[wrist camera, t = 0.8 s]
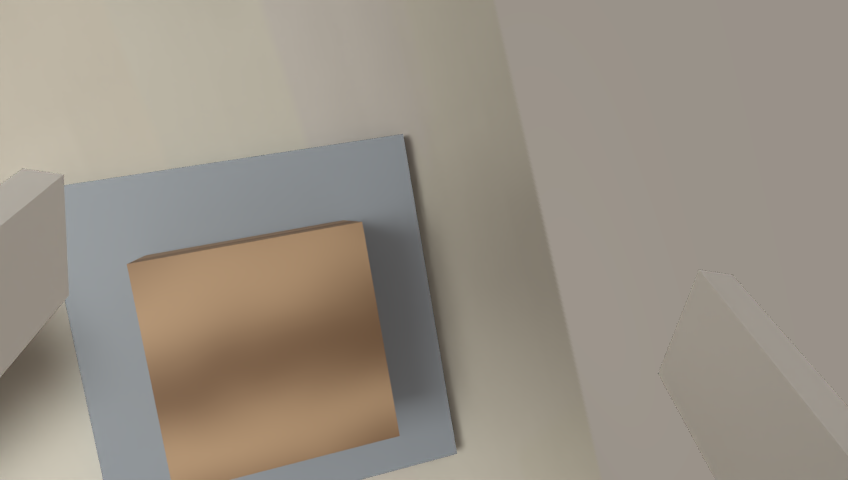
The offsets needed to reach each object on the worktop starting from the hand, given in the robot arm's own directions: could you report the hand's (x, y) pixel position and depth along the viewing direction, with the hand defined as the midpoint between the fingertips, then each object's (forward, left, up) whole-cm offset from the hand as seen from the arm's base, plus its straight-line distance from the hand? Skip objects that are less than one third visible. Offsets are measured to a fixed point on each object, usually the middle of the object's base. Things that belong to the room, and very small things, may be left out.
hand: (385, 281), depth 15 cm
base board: (+4, -2, -24) cm, 24 cm away
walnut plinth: (+4, -2, -24) cm, 24 cm away
